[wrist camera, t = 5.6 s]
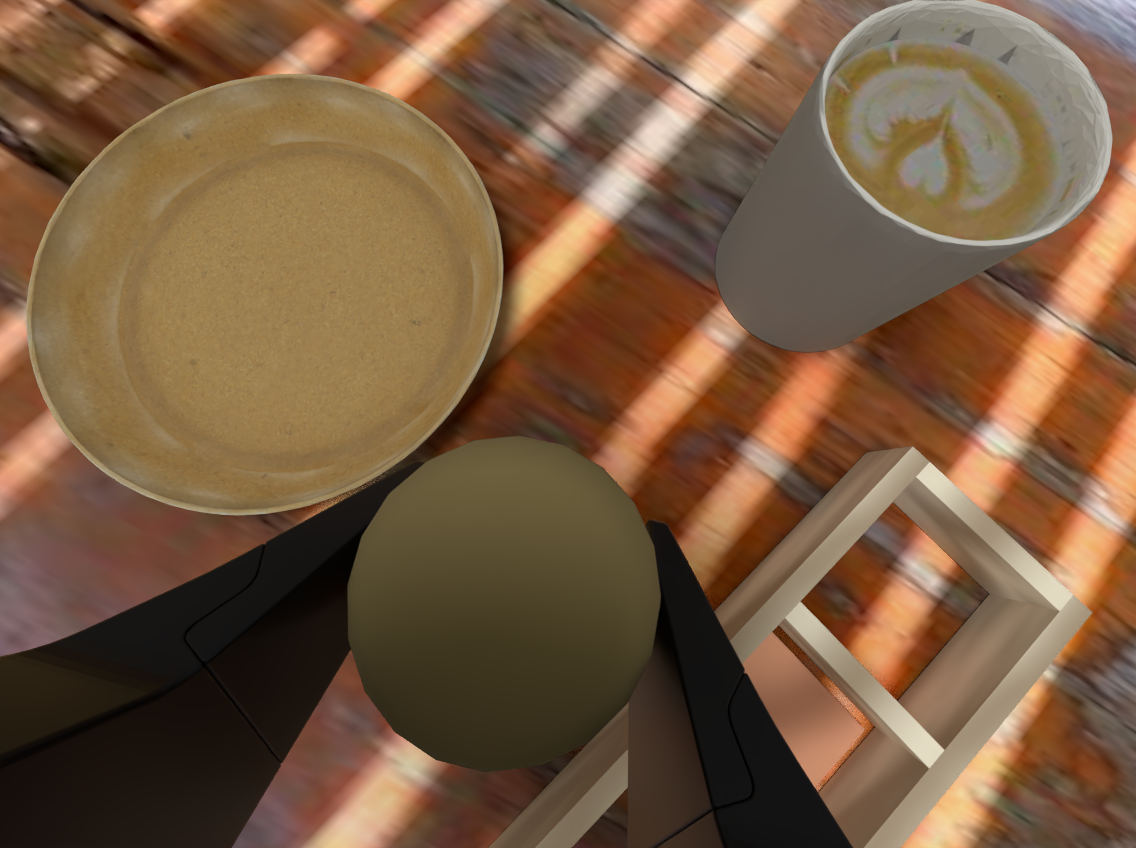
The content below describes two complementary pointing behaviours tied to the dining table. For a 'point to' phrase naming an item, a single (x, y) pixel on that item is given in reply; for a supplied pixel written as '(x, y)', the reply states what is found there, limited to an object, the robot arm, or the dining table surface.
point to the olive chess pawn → (503, 604)
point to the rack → (859, 666)
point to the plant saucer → (265, 294)
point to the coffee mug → (912, 171)
